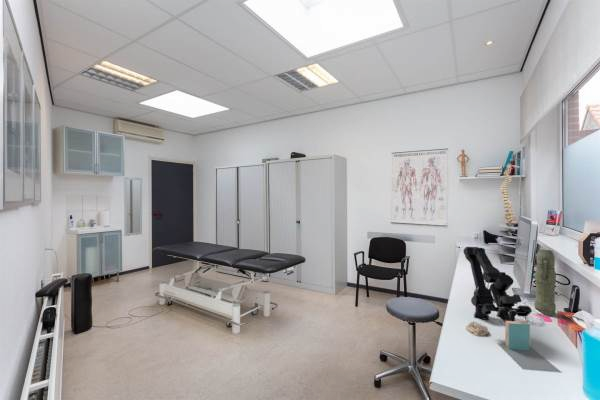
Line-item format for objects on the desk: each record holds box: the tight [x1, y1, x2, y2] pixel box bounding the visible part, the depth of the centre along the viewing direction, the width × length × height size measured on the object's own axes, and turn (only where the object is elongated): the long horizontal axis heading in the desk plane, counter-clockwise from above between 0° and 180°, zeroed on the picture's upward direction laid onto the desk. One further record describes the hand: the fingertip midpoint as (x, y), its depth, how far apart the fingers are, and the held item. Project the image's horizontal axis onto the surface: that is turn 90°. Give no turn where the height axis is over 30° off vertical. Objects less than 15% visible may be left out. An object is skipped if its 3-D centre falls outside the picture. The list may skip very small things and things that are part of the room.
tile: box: [504, 321, 531, 350], centre depth 123 cm, size 2×8×11 cm, turn 81°
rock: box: [465, 320, 490, 337], centre depth 138 cm, size 11×8×6 cm
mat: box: [496, 342, 562, 373], centre depth 117 cm, size 19×13×1 cm
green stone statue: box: [534, 249, 557, 317], centre depth 160 cm, size 9×12×35 cm
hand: (513, 329), depth 126 cm, fingers closed
